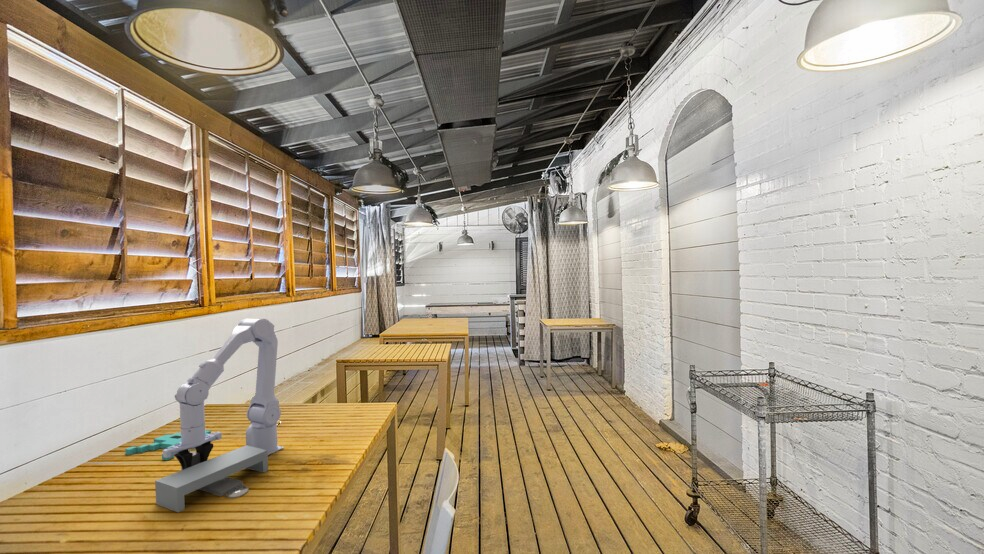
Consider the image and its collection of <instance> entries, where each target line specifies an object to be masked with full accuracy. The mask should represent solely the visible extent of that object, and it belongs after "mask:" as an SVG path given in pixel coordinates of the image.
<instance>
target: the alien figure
mask: <svg viewBox="0 0 984 554" xmlns="http://www.w3.org/2000/svg"><path fill="white" fill-rule="evenodd" d="M211 433H212V430H206V429H205V435H207V434H211ZM180 442H181V432H175V433H173V434H165V435H161V436H159V437H156V438H153V443H150V444H145V443H144V444H142V445H140V446H130V447H127V448H125V449H124V453H125V455H127V456H131V455H134V454H136V453H139V454H140V453H141V454H143V453H145V452H148V451H152V452H153V451H156V450H159V449H162V450H165V449H167V448H170V447H172V446H174V445H176V444H178V443H180ZM191 450H196V448H192V449H191ZM174 458H175V456H174V455H172V456H171V457H169V458H165V457H163V453H161V460H162V461H163V460H164V461H169V460H171V459H174Z"/></svg>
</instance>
